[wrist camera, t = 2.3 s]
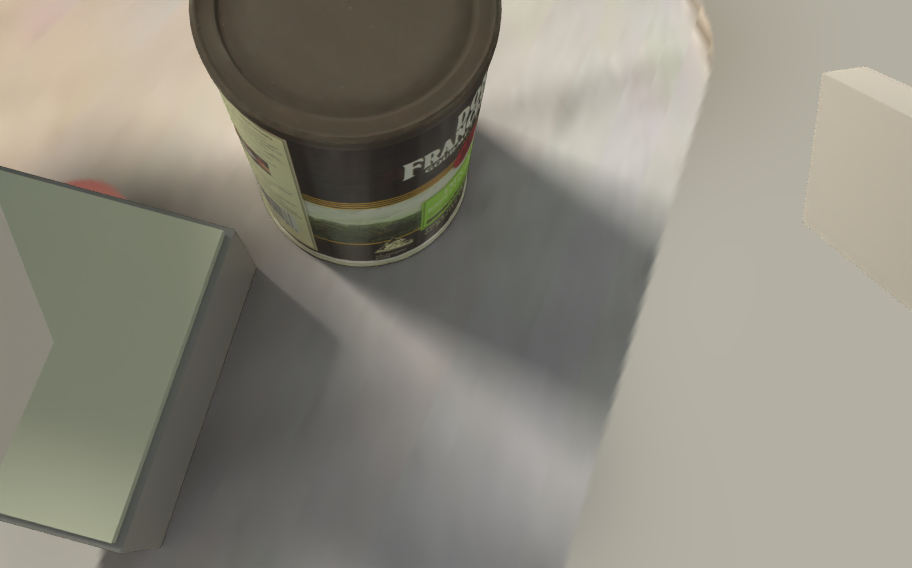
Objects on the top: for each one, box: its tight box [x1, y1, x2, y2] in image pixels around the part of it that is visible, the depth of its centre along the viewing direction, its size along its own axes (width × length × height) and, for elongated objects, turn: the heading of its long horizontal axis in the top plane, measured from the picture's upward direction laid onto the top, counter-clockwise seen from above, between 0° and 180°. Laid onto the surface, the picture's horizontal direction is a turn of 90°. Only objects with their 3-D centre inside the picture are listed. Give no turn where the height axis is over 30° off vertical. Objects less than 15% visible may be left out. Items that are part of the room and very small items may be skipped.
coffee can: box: [189, 0, 502, 266], centre depth 35 cm, size 10×10×14 cm
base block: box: [0, 166, 256, 553], centre depth 35 cm, size 13×13×6 cm
